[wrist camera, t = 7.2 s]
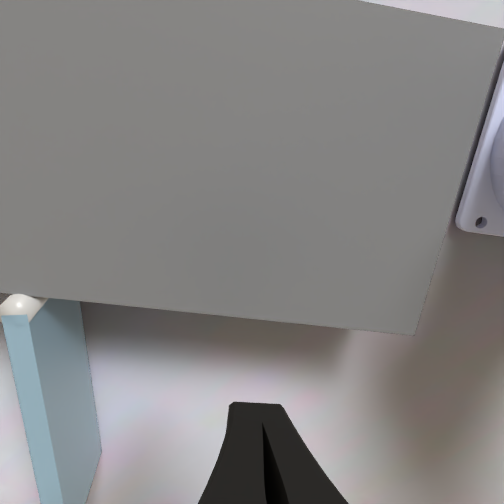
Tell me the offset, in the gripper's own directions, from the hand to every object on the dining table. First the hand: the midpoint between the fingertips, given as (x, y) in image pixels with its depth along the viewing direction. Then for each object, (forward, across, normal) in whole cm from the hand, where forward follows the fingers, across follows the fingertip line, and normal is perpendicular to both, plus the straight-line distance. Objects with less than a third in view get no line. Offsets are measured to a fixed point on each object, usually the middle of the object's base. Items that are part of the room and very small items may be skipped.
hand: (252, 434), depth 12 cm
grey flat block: (+9, +3, -6) cm, 12 cm away
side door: (+9, +7, +4) cm, 12 cm away
